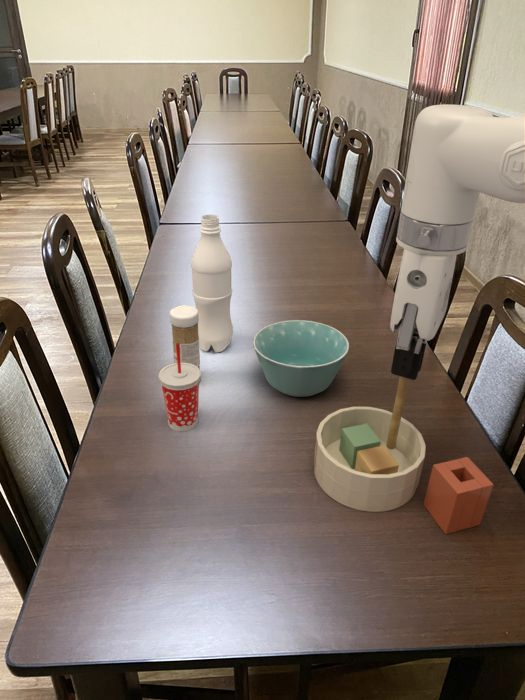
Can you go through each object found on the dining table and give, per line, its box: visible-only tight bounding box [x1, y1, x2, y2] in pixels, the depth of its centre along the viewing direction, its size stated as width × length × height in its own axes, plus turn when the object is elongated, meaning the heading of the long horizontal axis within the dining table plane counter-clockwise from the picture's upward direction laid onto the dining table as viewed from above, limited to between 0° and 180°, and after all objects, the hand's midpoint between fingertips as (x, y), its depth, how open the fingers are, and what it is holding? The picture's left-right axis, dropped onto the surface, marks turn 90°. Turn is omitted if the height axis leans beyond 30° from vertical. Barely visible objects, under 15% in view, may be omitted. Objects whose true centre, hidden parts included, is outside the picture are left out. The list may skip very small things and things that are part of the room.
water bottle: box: [190, 214, 234, 353], centre depth 96 cm, size 7×7×25 cm
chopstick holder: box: [423, 456, 494, 535], centre depth 66 cm, size 5×5×7 cm
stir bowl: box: [313, 406, 427, 513], centre depth 73 cm, size 14×14×6 cm
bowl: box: [252, 319, 350, 398], centre depth 91 cm, size 16×16×8 cm
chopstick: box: [386, 336, 417, 449], centre depth 69 cm, size 1×1×18 cm
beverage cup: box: [158, 343, 202, 432], centre depth 79 cm, size 6×6×14 cm
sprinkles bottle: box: [169, 304, 202, 383], centre depth 89 cm, size 5×5×13 cm
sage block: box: [339, 424, 381, 469], centre depth 75 cm, size 4×4×4 cm
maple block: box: [355, 445, 399, 475], centre depth 71 cm, size 4×4×4 cm
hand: (405, 371), depth 68 cm, fingers closed on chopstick, 1 cm apart
